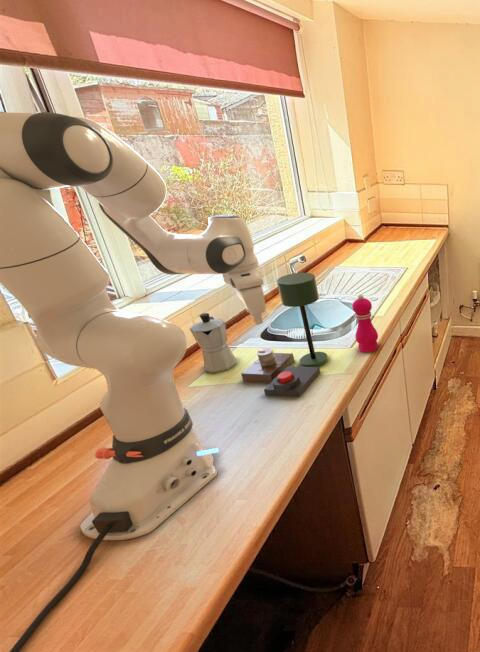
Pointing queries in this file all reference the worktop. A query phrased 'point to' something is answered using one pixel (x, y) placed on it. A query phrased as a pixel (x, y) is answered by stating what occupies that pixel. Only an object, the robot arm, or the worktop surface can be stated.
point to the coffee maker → (213, 344)
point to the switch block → (293, 382)
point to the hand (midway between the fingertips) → (254, 317)
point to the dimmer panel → (267, 369)
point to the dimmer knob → (266, 357)
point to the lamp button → (285, 377)
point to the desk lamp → (302, 309)
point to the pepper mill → (365, 325)
